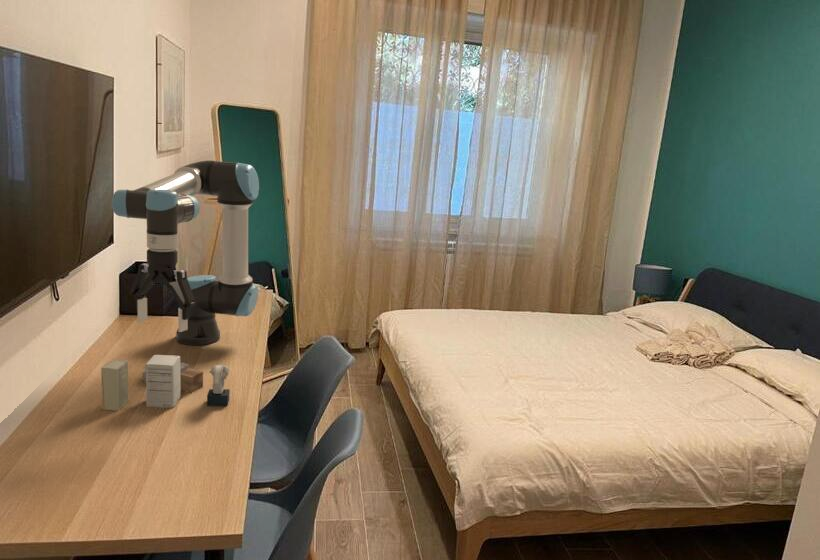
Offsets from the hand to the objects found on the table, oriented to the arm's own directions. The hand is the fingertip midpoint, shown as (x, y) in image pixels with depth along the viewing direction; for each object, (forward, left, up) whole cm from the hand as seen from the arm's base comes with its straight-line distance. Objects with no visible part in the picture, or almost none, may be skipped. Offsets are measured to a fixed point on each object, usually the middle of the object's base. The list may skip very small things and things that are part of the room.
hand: (162, 326), depth 161 cm
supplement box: (0, 0, -22) cm, 22 cm away
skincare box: (+8, -9, -22) cm, 25 cm away
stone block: (-14, -12, -23) cm, 29 cm away
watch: (-7, +13, -22) cm, 27 cm away
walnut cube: (-11, 0, -22) cm, 25 cm away
